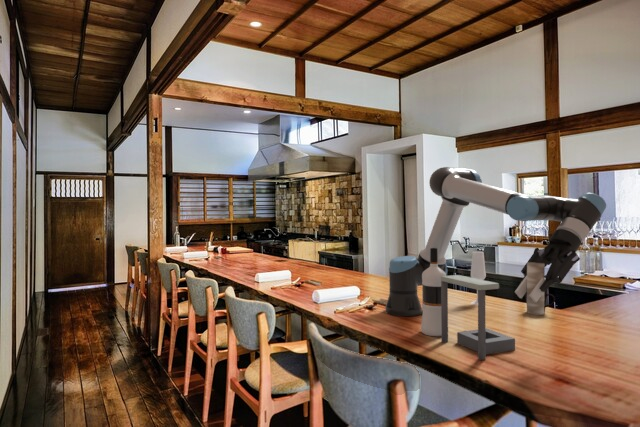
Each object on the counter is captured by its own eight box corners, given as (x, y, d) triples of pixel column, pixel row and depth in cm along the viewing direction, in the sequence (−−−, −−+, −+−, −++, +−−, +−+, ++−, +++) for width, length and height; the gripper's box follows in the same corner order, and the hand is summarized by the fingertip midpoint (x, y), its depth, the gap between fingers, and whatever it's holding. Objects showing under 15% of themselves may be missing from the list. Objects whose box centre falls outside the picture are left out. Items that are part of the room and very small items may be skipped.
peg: (527, 313, 115) (527, 263, 115) (526, 310, 119) (526, 262, 119) (544, 315, 114) (545, 264, 113) (543, 311, 118) (543, 262, 117)
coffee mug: (520, 310, 177) (520, 287, 177) (539, 309, 178) (539, 286, 178) (536, 317, 165) (536, 292, 165) (557, 316, 166) (557, 291, 166)
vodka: (415, 332, 146) (414, 247, 145) (433, 328, 151) (432, 246, 151) (435, 338, 138) (435, 249, 138) (453, 334, 143) (453, 248, 143)
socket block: (486, 338, 138) (486, 328, 138) (515, 349, 126) (515, 338, 126) (457, 342, 133) (457, 332, 133) (484, 354, 122) (483, 343, 122)
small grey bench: (457, 338, 138) (457, 274, 138) (500, 357, 120) (500, 283, 120) (440, 341, 135) (439, 275, 135) (481, 360, 117) (481, 285, 117)
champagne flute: (485, 302, 193) (485, 251, 193) (486, 305, 186) (486, 252, 186) (470, 301, 195) (470, 251, 195) (470, 304, 188) (470, 252, 188)
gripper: (604, 248, 113) (560, 313, 108) (549, 243, 130) (508, 299, 124) (590, 229, 111) (545, 294, 106) (536, 226, 128) (494, 282, 122)
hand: (525, 296), depth 115 cm, fingers closed on peg, 4 cm apart
